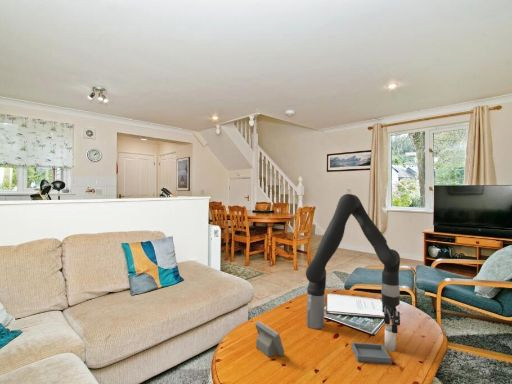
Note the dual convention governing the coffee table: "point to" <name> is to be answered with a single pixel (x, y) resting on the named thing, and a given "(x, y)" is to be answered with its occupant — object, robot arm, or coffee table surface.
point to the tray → (370, 353)
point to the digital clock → (268, 340)
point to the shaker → (390, 338)
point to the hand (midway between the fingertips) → (390, 328)
